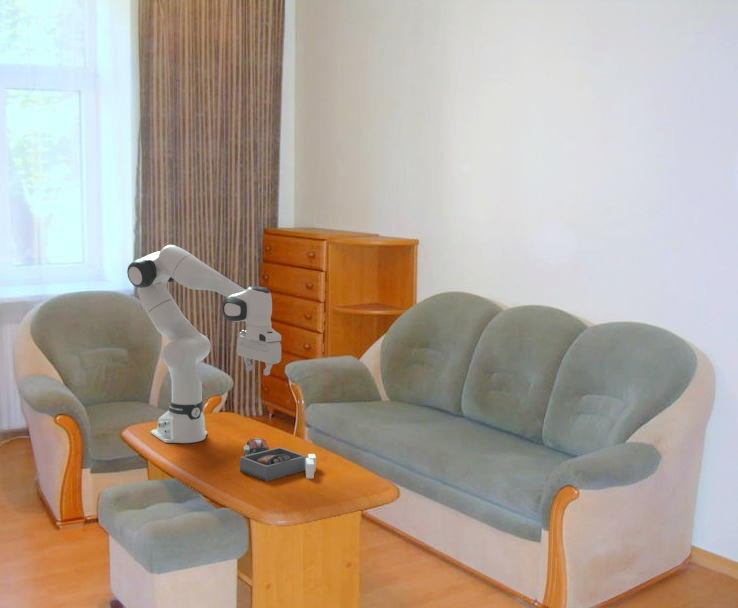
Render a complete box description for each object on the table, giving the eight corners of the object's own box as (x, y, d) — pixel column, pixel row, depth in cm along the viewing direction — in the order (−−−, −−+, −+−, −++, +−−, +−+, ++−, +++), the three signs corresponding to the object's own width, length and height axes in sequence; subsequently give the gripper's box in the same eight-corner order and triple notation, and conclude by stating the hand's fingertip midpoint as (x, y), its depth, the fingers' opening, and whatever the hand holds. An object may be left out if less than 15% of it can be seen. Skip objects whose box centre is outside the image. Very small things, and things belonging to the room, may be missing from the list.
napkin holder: (313, 483, 294) (314, 466, 293) (285, 476, 300) (285, 459, 299) (338, 471, 307) (338, 455, 306) (310, 465, 313) (311, 449, 312)
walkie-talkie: (241, 446, 331) (244, 462, 312) (241, 434, 331) (245, 450, 311) (265, 445, 333) (270, 462, 314) (265, 434, 332) (270, 450, 313)
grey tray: (239, 471, 302) (240, 456, 301) (279, 460, 314) (279, 447, 314) (266, 481, 292) (266, 466, 292) (305, 470, 305) (306, 456, 304)
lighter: (257, 468, 303) (273, 467, 295) (255, 458, 303) (271, 457, 295) (276, 462, 308) (293, 461, 301) (274, 453, 308) (291, 451, 301)
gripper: (232, 329, 314) (232, 368, 316) (270, 338, 301) (269, 378, 302) (246, 328, 319) (246, 366, 321) (284, 336, 305) (283, 376, 307)
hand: (257, 372), depth 312 cm, fingers open, 8 cm apart
